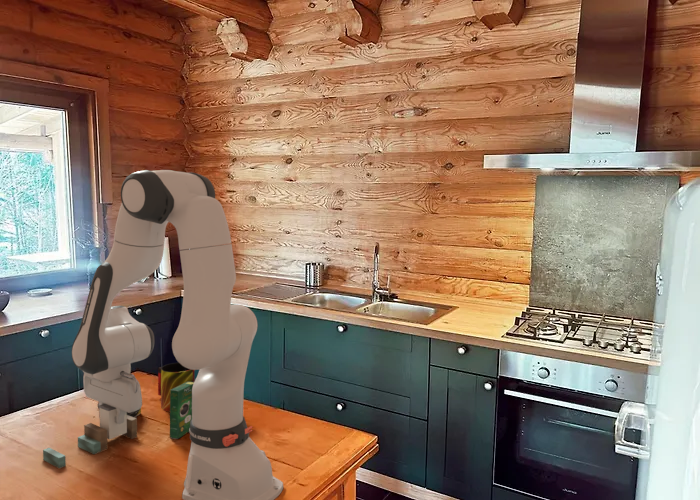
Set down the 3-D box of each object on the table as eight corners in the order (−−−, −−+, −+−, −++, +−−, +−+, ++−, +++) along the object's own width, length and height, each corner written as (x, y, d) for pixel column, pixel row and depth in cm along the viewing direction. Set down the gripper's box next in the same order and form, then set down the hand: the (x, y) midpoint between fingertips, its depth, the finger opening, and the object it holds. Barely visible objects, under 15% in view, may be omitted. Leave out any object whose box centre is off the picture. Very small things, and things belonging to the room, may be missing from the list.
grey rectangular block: (126, 432, 139) (126, 402, 138) (109, 439, 135) (108, 408, 134) (117, 428, 141) (117, 399, 140) (100, 435, 137) (99, 405, 136)
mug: (159, 397, 169) (159, 360, 168) (200, 401, 166) (200, 363, 165) (142, 408, 159) (141, 369, 158) (184, 413, 157) (184, 373, 156)
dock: (137, 437, 140) (136, 418, 140) (59, 468, 123) (58, 447, 123) (120, 430, 144) (120, 412, 144) (43, 459, 127) (42, 439, 126)
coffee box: (187, 426, 148) (187, 380, 147) (196, 427, 147) (196, 381, 146) (168, 438, 140) (168, 389, 139) (178, 439, 139) (178, 391, 138)
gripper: (148, 372, 133) (149, 426, 135) (100, 358, 144) (102, 407, 146) (125, 379, 128) (126, 434, 129) (78, 364, 139) (79, 415, 140)
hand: (113, 420), depth 138 cm, fingers closed on grey rectangular block, 4 cm apart
